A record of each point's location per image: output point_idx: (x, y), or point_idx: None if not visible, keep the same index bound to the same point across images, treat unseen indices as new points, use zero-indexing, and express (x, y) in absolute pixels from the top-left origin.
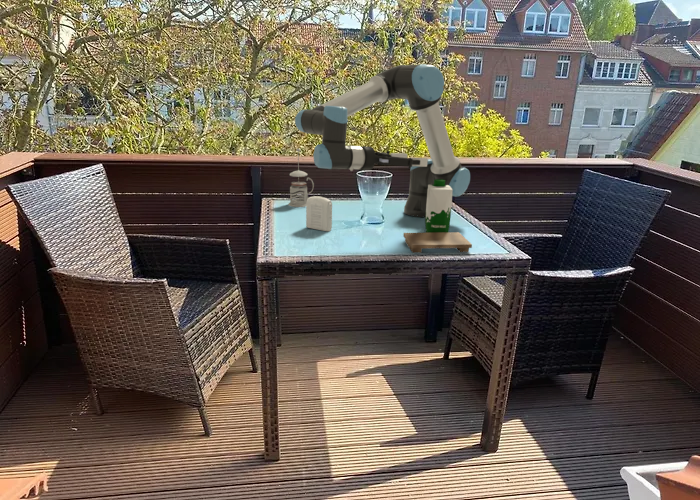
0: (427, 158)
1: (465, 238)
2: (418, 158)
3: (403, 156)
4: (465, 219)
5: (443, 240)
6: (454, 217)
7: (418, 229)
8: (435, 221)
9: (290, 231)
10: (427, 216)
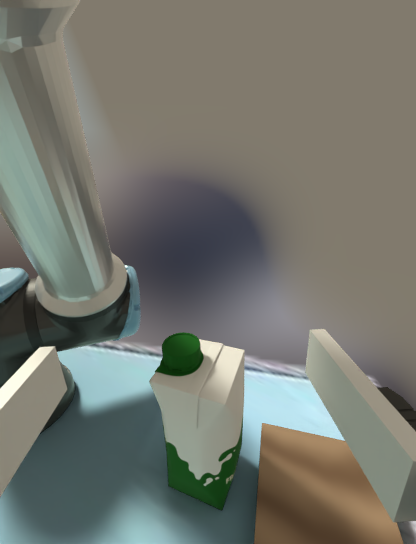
0: (324, 330)
1: (317, 435)
2: (370, 382)
3: (41, 384)
4: (130, 351)
5: (348, 515)
6: (107, 361)
7: (135, 496)
8: (235, 463)
9: None
10: (206, 473)
